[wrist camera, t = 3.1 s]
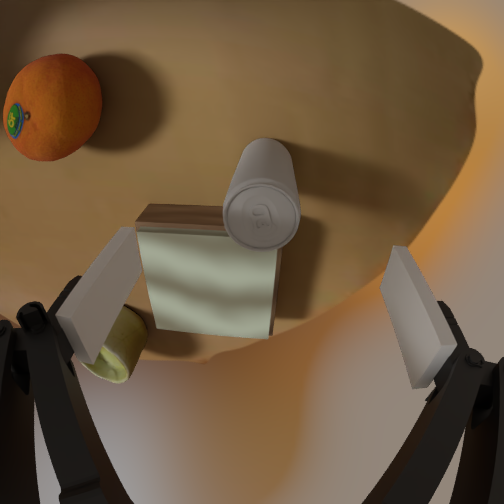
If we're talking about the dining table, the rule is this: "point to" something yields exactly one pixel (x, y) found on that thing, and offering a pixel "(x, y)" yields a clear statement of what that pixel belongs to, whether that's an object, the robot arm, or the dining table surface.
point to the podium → (205, 274)
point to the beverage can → (262, 198)
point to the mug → (120, 348)
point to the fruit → (52, 107)
